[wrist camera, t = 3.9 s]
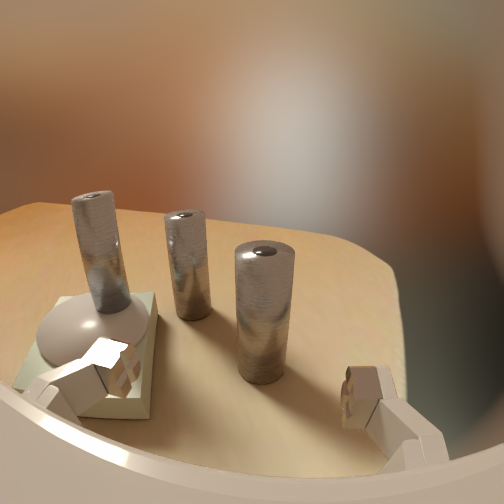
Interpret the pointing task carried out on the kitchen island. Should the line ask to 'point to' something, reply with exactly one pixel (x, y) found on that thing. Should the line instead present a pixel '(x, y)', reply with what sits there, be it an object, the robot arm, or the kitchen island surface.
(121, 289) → the cylinder
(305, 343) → the kitchen island surface
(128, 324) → the scale
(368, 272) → the kitchen island surface
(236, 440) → the kitchen island surface
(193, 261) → the cylinder
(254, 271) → the cylinder
